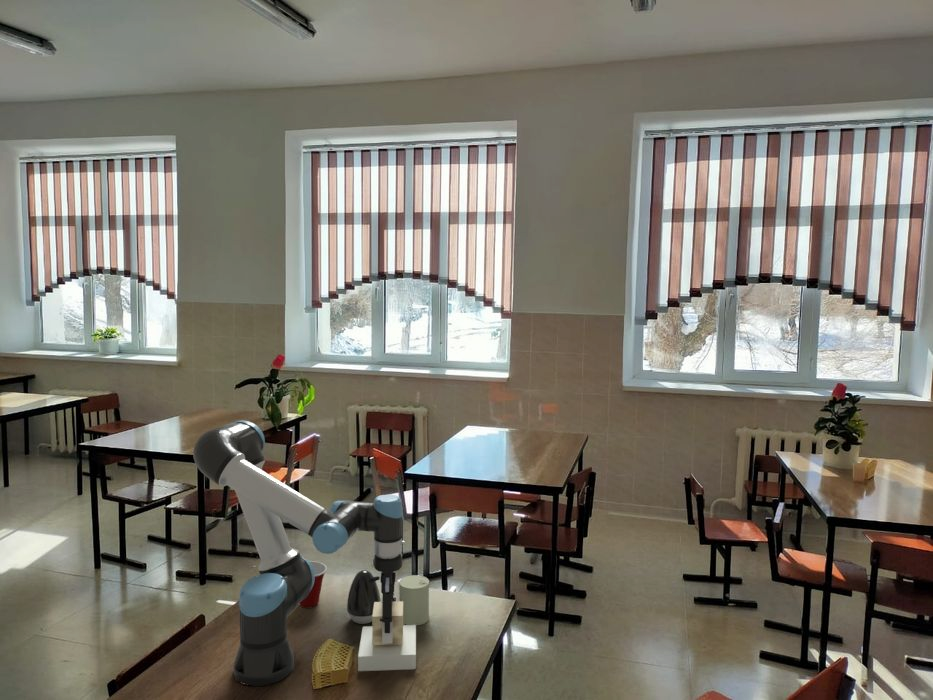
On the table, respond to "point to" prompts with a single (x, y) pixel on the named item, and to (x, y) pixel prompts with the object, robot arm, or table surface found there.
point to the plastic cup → (315, 585)
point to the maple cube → (397, 623)
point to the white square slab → (387, 652)
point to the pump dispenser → (363, 597)
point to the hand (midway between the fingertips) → (388, 634)
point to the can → (414, 599)
